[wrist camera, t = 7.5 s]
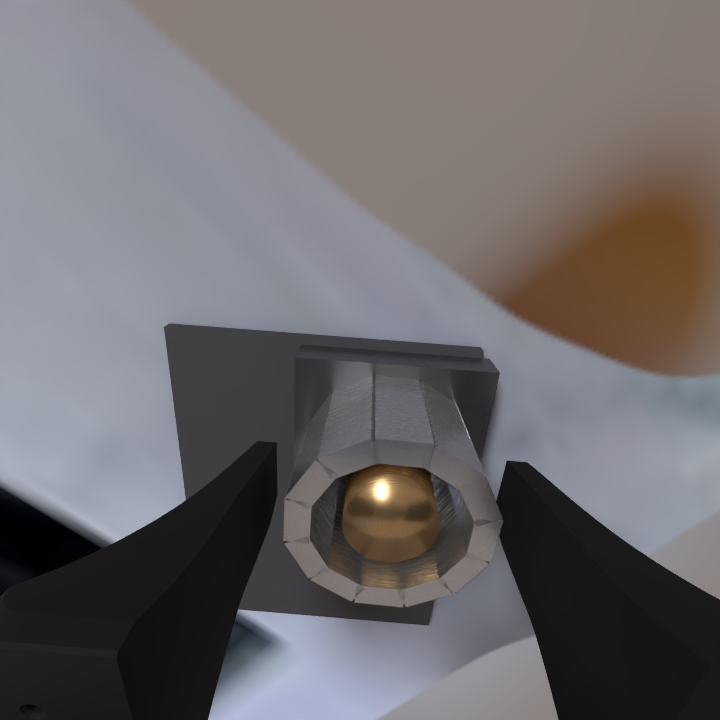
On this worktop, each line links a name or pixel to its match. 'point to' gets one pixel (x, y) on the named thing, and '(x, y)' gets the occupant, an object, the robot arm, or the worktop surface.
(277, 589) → the mat
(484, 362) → the doorknob
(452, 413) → the ring
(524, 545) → the robot arm
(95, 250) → the worktop surface
